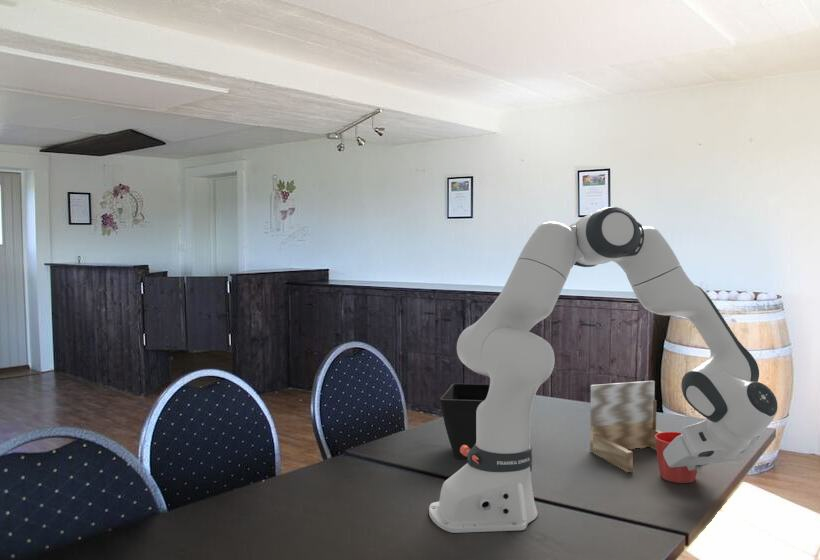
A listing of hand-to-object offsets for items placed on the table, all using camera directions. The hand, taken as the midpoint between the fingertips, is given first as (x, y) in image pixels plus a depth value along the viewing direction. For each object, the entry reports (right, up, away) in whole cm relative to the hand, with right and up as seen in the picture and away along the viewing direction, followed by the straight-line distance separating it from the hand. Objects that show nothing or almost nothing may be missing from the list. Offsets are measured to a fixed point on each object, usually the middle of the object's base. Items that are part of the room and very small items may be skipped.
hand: (692, 467), depth 158 cm
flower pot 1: (-46, -3, +25) cm, 52 cm away
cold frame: (-5, -3, +19) cm, 20 cm away
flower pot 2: (-1, -4, +5) cm, 7 cm away
